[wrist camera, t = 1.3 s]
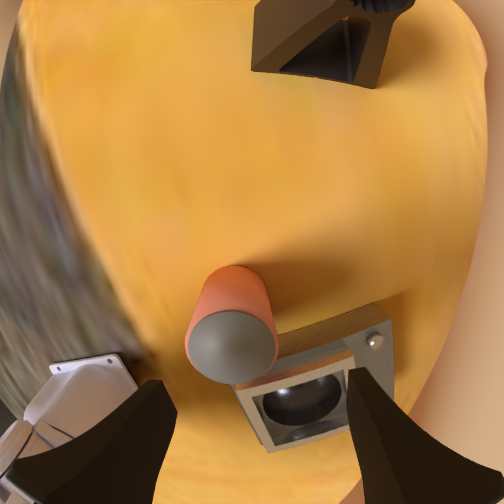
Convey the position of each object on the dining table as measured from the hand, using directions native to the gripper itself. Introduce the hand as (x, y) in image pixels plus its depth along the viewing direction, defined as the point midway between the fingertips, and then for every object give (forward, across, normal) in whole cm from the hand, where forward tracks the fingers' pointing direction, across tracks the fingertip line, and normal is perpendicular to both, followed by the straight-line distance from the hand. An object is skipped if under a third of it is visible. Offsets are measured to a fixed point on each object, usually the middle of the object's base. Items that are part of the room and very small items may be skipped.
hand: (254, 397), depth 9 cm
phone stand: (+13, -6, -17) cm, 22 cm away
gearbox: (+10, -3, +8) cm, 14 cm away
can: (+10, +2, +1) cm, 10 cm away
